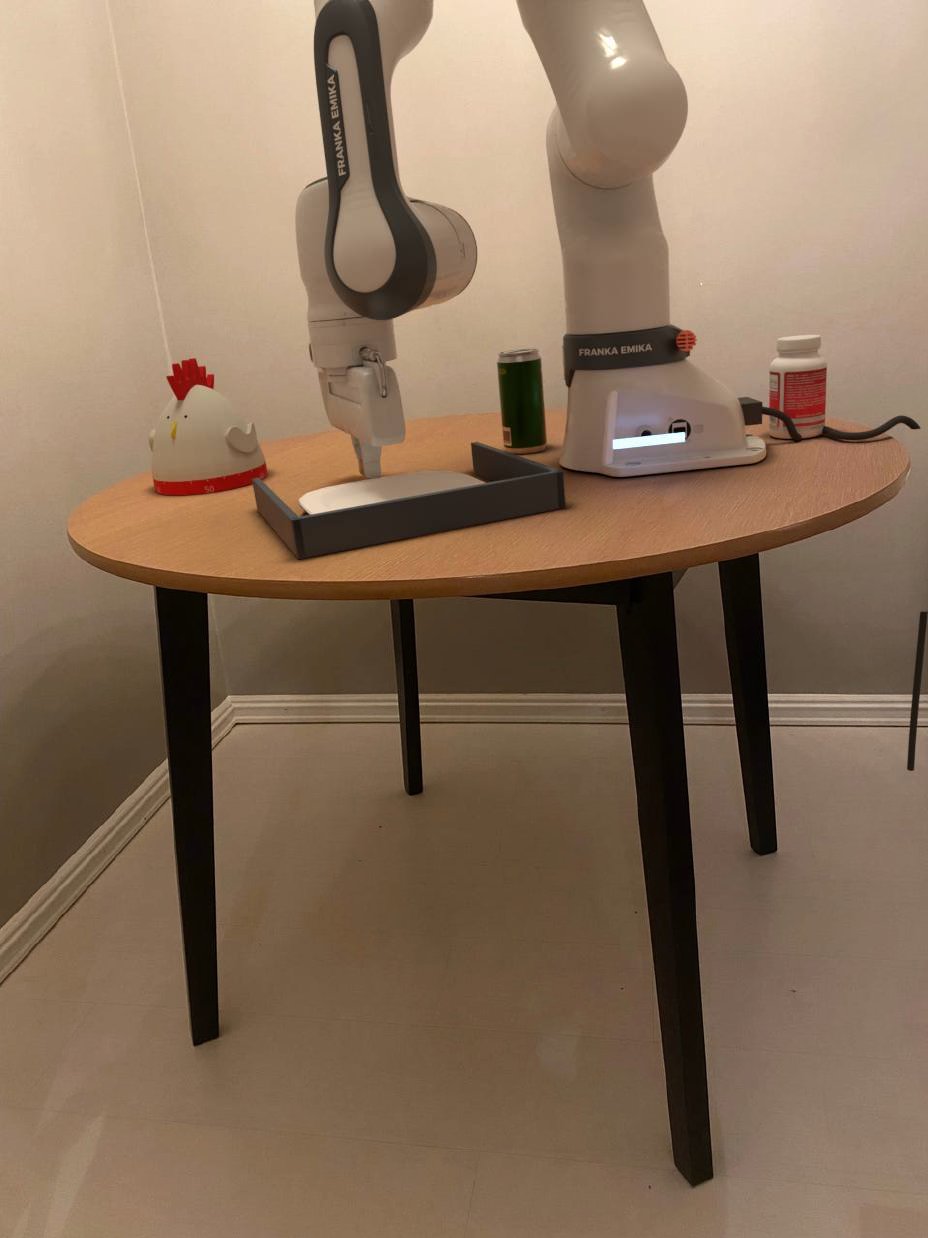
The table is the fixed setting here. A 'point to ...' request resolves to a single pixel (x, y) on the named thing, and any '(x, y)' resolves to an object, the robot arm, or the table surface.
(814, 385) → the pill bottle
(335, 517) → the tray
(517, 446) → the beer can
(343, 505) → the plate
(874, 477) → the table surface
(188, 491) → the kitchen timer
